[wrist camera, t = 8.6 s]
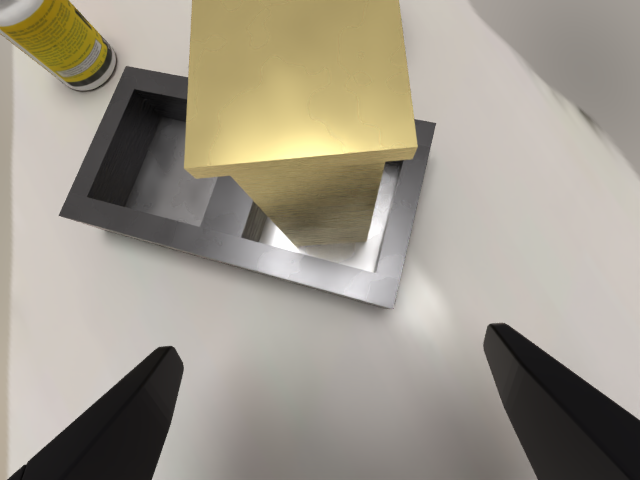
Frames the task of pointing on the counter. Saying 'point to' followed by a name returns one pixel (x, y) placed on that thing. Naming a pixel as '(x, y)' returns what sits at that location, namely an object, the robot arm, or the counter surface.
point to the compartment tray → (228, 200)
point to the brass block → (300, 108)
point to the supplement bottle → (58, 40)
